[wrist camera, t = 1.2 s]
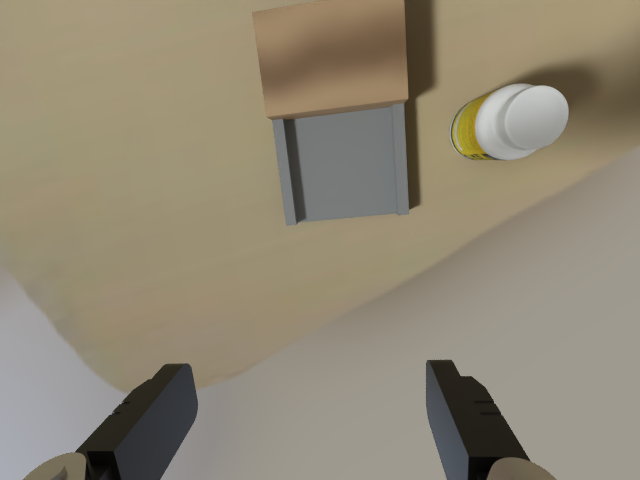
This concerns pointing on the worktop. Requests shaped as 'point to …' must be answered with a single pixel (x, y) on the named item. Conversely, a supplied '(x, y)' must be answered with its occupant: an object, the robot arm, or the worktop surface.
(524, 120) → the supplement bottle
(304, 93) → the brown box
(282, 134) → the tray
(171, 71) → the worktop surface
